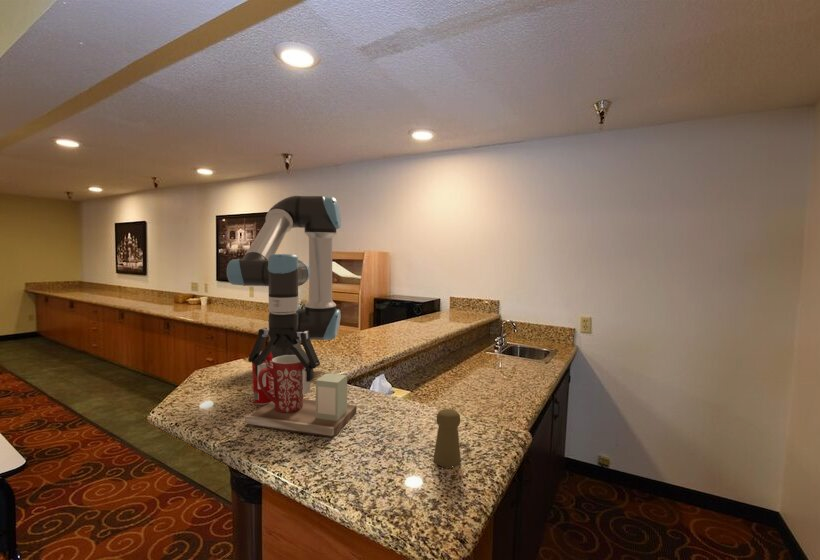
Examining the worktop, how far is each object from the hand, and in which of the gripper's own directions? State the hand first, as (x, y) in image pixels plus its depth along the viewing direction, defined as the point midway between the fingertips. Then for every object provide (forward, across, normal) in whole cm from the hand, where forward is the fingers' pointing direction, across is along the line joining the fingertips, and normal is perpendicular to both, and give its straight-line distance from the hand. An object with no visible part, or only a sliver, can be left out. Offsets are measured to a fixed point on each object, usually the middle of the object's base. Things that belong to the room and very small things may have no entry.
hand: (283, 390), depth 105 cm
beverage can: (+7, -11, +7) cm, 15 cm away
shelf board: (+7, +6, 0) cm, 9 cm away
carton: (+5, +14, 0) cm, 15 cm away
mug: (+5, 0, 0) cm, 5 cm away
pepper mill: (+7, +46, -10) cm, 48 cm away
